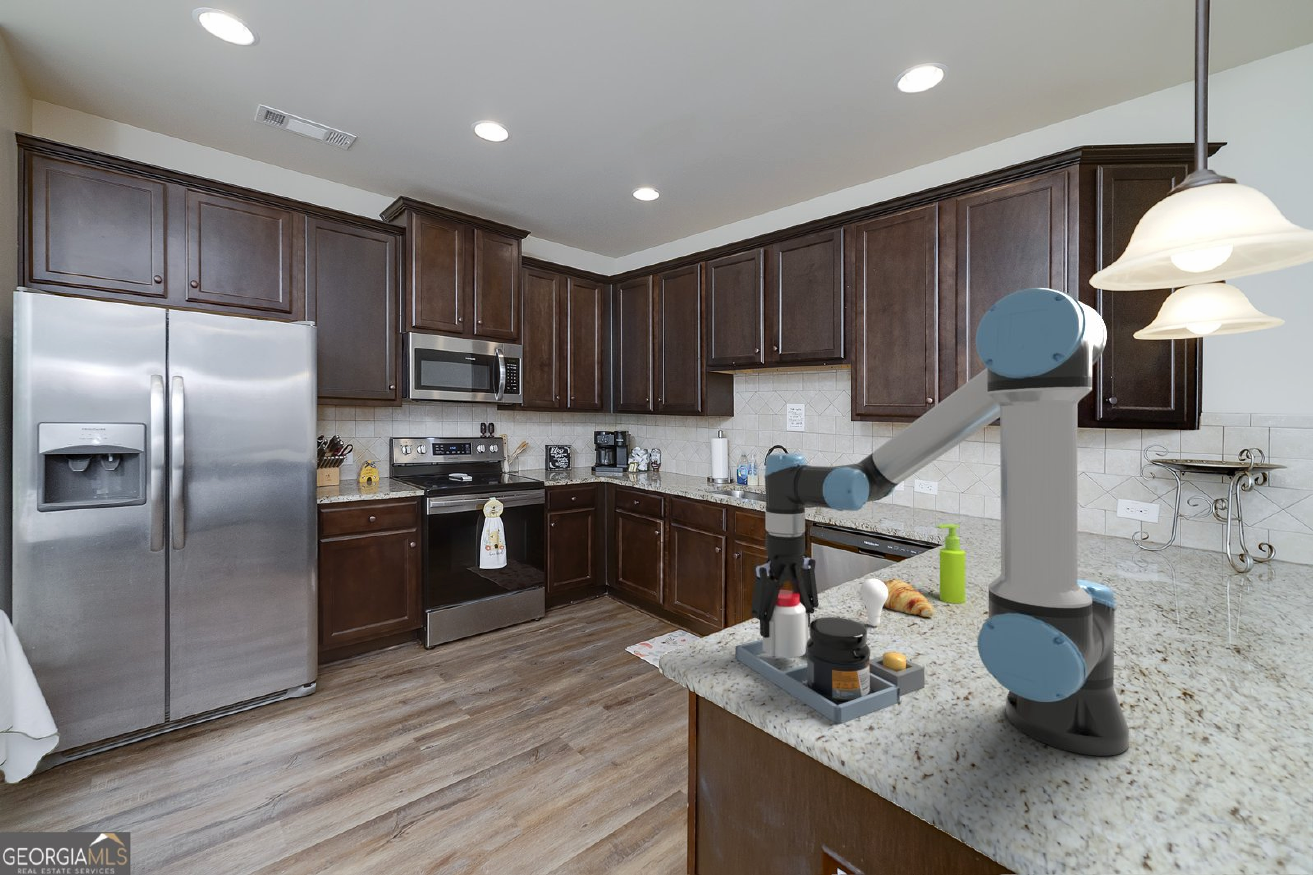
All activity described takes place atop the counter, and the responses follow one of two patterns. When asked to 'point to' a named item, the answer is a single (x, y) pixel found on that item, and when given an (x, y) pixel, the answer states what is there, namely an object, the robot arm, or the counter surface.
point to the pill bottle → (789, 625)
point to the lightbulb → (874, 599)
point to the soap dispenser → (952, 568)
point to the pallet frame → (792, 684)
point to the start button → (894, 661)
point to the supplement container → (838, 659)
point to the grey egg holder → (900, 675)
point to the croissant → (907, 599)
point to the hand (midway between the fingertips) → (785, 648)
